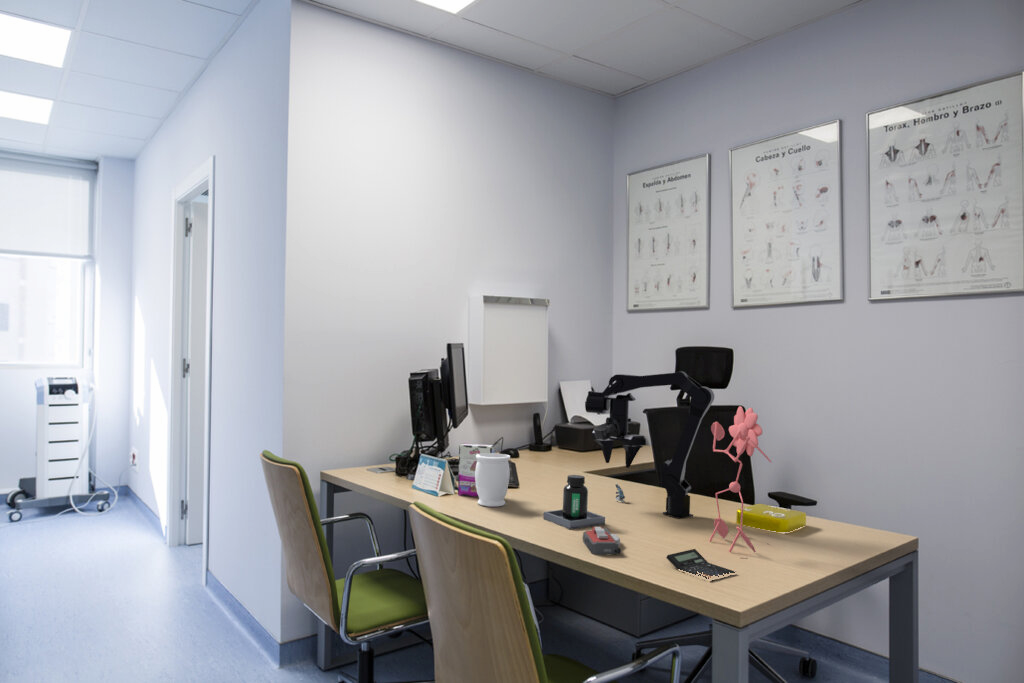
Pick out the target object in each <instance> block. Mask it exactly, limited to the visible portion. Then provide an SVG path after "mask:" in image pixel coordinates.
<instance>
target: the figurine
mask: <svg viewBox="0 0 1024 683" xmlns="http://www.w3.org/2000/svg"><path fill="white" fill-rule="evenodd" d="M744 411H745V410H744V409H743V406H738V408H737V410H736V413H735V415H734V416H733V425H730V426H729V427H728V432H729V435H730V436H731V437H732V438H733V439H732V441H731V442H730V444H729V445H728V446H727V448H726V449H724V450H723V449H716V443H717V441H721V440H722V439H724V437H725V434H726V433H725V429H724V428H723V426H722V424H720V423H719V421H715V422H713V423H712V424H711V425H710V431H711V433H712V435H713V444H712V452H714V453H715V452H716V453H724V454H725V455H728V456H729V457H730V459H732V461H733V462H734V463H737V462H738V463H739V467H738V471H737V476H736V479H735V481H732V482H730V483H729V485H728V486H729V487H728V488H726V489H724V490H721V491H717V492H715V501H716V506H717V507H716V508H717V513H718V517H717V518H715V519H714V522H713V526H714V530H713V532H712V534H711V536H710V538H709V540H708V541H709V542H712V541H713V538H715V537H714V536H715V535H716V533H718V534H719V536H721V538H723V539H725V538H726V537H727V535H728V534H729V527H728V525H727V523H726V522H725V520H723V519H722V518H721V514H720V513H721V512H720V506H719V505H720V504H719V500H718V498H719V497H718V495H719V494H722V493H724V492H727V491H731V492H732V493H738V494H739V497H740V501H741V508H740V509H741V525H740V527H739V526H736V530H737V533H736V534H735V535H736V536H735V538H734V539H733V541H732V543H731V546H730V548H729V550H728V552H730V553H732V551H733V549H734V547H735V545H736V542H737V541H738V539H739V537H740V536H741V538H742V540H743V541H744V543H746V545H747V546H748V547H749V548H750V549H751V550H752V551H753V553H755V552H756V549H755V547H754V544H752V542H751V539H749V538H748V537H749V536H747V534H746V533H745V532H744V531H743V525H742V518H743V508H744V501H743V500H744V499H743V496H742V493H741V485H740V483H739V477H740V476H741V475H740V473H741V470H742V468H743V463H742V461H741V460H740V459H739V458H740V456H741V455H742V454H743V453H744V452H745V451H746V454H747V455H748V456H749V457H752V456H753V455H754V452H755V449H757V450H758V451H759V453H761V454H762V456H763V457H764V458H765V459H766V460H768V462H769V463H772V461H771V459H770V458H769V457H768V456H767V455H766V454H765V453H764V451H763V450H762V449H761V448H760V447H759V440H758V437H760V436H761V435H763V429H762V427H761V426H760V425H759V424H758V423H757V421H758V418H759V417H758V414H757V413H756V412H754V410H753V407H750V408H747V409H746V411H745V412H744ZM732 446H734V447H735V448H736V453H737V455H736V456H734V455H732V453H730V449H731V448H732ZM730 535H731V536H733V534H732V533H731V534H730ZM756 553H757V552H756ZM741 559H745V560H747V559H748V557H741Z"/></svg>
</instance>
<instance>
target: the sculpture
mask: <svg viewBox="0 0 1024 683" xmlns="http://www.w3.org/2000/svg"><path fill="white" fill-rule="evenodd" d="M615 487H616V490H617V491H616V492H615V494H616V496H615V499H616V500H618V501H621V502H625V503H626V500H624V499H626V496H625V494H624V490H623V489H622V487H621V486H620V485H619V484H618V483H616V484H615Z"/></svg>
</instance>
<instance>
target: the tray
mask: <svg viewBox="0 0 1024 683" xmlns="http://www.w3.org/2000/svg"><path fill="white" fill-rule="evenodd" d="M542 518H543V520H545V521H548V522H550V523H553V524H556V525H558V526H561V527H563V528H566V529H568V530H575V529H581V528H582V527H583V528H588V527H589V526H590V527H596V526H601V525H600V524H603V525H606V516H604V515H600V514H597V513H594V512H592V511H589V510H587V519H582V520H575V521H569V520H567V519H564V518H563V508H562V509H556V510H548V511H546V510H545V511H543V517H542ZM595 525H596V526H595ZM590 527H589V528H590Z"/></svg>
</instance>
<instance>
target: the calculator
mask: <svg viewBox="0 0 1024 683" xmlns="http://www.w3.org/2000/svg"><path fill="white" fill-rule="evenodd" d="M665 558H666V560H668V562H669V563H670V564H671V565H673V567H674V568H675V569H676V568H677V569H680V570H683V571H686V572H689V573H692V574H695V575H696V574H698V573H697V571H698V572H699V573H701V574H702V572H703V575H705V576H703V575H702V576H703V577H705V578H706V579H707V577H706V576H708V575H709V576H708V579H709V577H710V578H711V576H713V575H715V576H718V574H719V575H723V573H724V574H726V573H727V574H729V572H730V573H735V572H736V571H735V570H732V569H729V568H726V567H723V566H719V565H716V564H714V563H712V562H711V563H710V562H708V560H706V559H705V557H704V556H703V555H701V553H700V552H699V551H698V550H697V549H696V548H693V549H692V548H691V549H688V550H683V551H679V552H675V553H670V554H667V555H666V557H665ZM677 569H676V570H677ZM734 571H735V572H734ZM701 574H699V575H700V576H701ZM699 575H698V576H699ZM723 576H724V575H723ZM718 577H719V576H718Z"/></svg>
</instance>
